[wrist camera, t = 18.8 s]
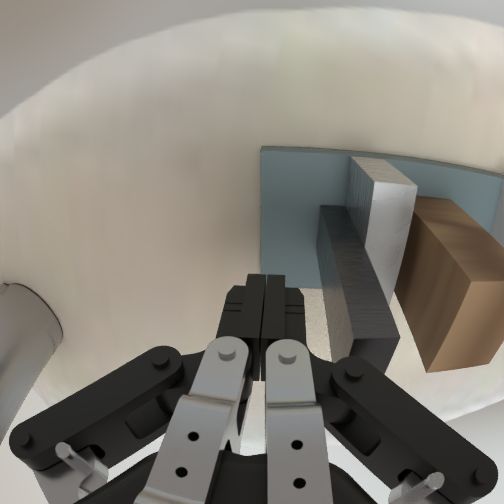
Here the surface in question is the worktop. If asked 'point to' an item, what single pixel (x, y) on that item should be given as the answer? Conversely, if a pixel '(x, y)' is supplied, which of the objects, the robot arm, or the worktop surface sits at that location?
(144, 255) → the worktop surface
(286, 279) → the vise
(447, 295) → the block
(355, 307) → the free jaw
